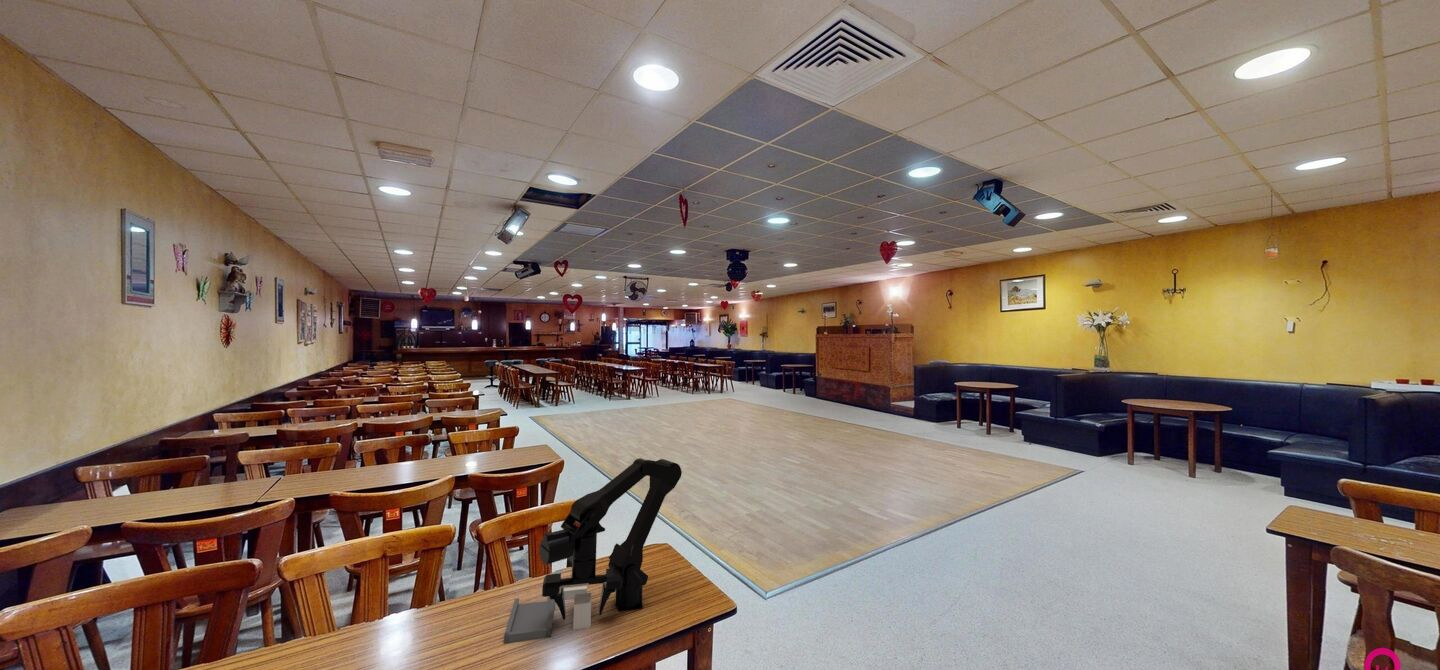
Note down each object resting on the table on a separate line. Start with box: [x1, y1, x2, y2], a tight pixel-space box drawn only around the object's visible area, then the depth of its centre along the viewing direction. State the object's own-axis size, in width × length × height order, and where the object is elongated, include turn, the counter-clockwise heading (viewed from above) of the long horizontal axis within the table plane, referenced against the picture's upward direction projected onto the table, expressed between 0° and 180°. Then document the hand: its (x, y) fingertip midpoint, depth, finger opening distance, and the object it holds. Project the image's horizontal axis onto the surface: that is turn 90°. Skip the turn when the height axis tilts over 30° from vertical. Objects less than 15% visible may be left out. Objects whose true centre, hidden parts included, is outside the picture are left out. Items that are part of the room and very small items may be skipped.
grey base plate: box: [503, 597, 556, 645], centre depth 115 cm, size 10×16×2 cm, turn 15°
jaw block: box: [572, 592, 592, 630], centre depth 115 cm, size 4×5×6 cm
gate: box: [547, 569, 588, 601], centre depth 129 cm, size 10×8×4 cm
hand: (582, 616), depth 115 cm, fingers open, 8 cm apart
